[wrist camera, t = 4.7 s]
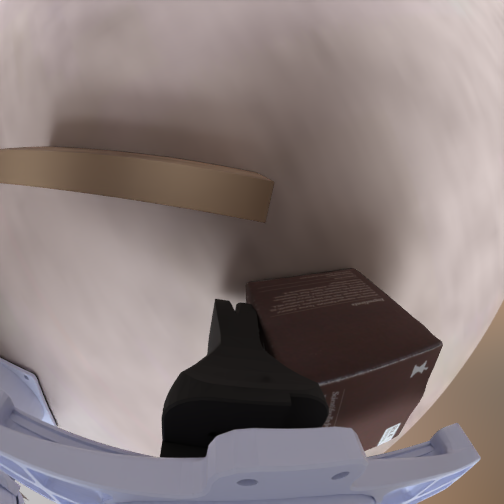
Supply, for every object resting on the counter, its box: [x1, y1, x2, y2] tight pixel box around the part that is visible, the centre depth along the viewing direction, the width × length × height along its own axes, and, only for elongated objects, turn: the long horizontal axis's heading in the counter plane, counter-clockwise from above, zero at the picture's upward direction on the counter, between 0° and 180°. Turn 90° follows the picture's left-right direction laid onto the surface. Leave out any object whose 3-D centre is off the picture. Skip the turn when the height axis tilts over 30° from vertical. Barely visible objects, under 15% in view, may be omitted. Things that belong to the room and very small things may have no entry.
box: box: [246, 268, 443, 451], centre depth 12 cm, size 6×6×7 cm
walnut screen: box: [0, 147, 274, 223], centre depth 9 cm, size 11×1×5 cm, turn 78°
